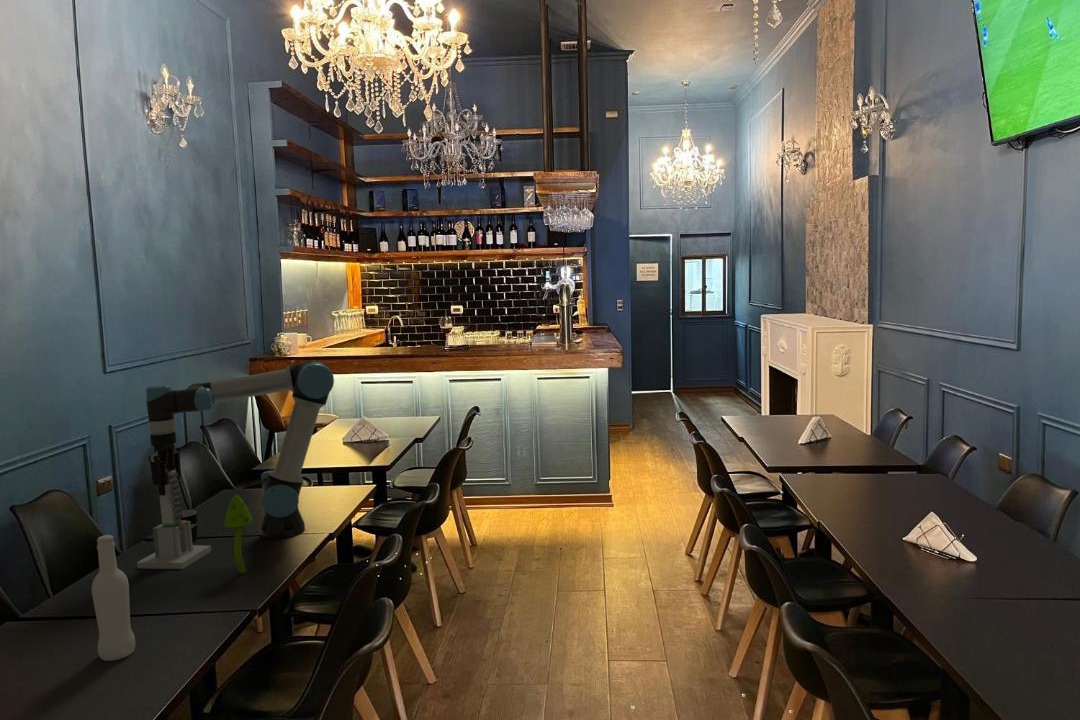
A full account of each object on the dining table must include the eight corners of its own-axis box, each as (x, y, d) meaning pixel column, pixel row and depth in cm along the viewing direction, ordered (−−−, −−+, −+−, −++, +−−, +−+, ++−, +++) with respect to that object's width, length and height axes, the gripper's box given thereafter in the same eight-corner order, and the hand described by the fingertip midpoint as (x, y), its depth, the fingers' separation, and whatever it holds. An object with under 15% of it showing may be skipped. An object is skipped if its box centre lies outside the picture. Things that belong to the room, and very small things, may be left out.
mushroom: (263, 569, 244) (256, 492, 242) (242, 578, 237) (235, 499, 234) (243, 566, 248) (236, 489, 245) (222, 575, 240) (215, 497, 238)
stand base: (211, 551, 263) (207, 515, 262) (182, 568, 248) (179, 530, 246) (168, 550, 266) (164, 515, 265) (137, 568, 250) (133, 530, 249)
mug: (192, 545, 271) (189, 517, 269) (166, 546, 271) (164, 518, 270) (207, 534, 282) (205, 507, 281) (183, 534, 283) (181, 507, 282)
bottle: (108, 647, 194) (95, 532, 191) (141, 645, 195) (129, 529, 192) (92, 663, 186) (78, 543, 183) (127, 660, 187) (114, 540, 184)
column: (184, 533, 257) (178, 469, 255) (176, 537, 253) (170, 472, 251) (171, 533, 258) (164, 469, 256) (163, 537, 254) (156, 472, 252)
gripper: (168, 427, 261) (175, 495, 264) (134, 438, 244) (142, 510, 247) (188, 427, 260) (195, 494, 262) (156, 437, 243) (163, 510, 246)
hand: (169, 502), depth 255 cm, fingers closed on column, 4 cm apart
